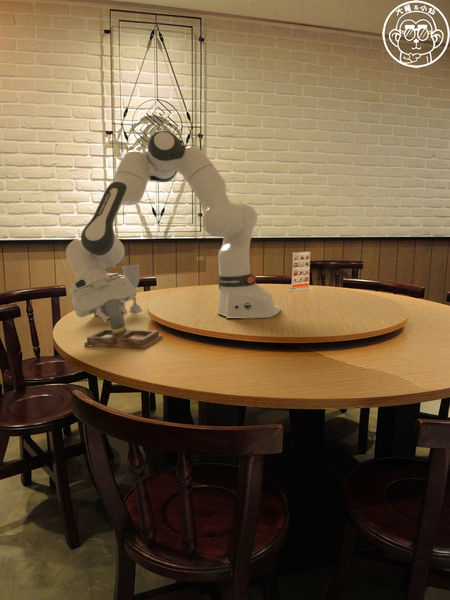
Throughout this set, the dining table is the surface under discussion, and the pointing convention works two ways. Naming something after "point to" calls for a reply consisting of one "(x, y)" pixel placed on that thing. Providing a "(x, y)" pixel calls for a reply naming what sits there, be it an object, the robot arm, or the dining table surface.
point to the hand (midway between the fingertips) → (116, 317)
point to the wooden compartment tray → (124, 339)
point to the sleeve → (115, 316)
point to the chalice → (133, 282)
